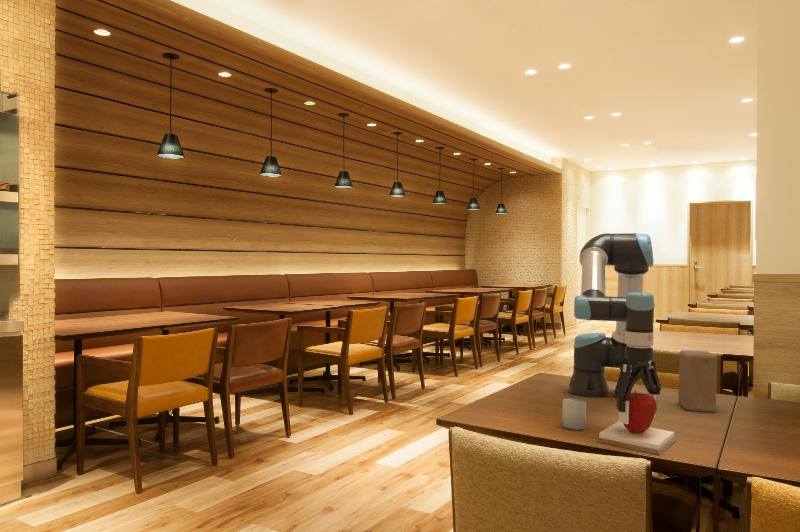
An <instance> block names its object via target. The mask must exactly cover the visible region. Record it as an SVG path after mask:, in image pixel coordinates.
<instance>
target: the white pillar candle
mask: <svg viewBox="0 0 800 532" xmlns="http://www.w3.org/2000/svg"><path fill="white" fill-rule="evenodd" d="M561 419H562V420H561V426H562V427H563V428H564V429H568V430H573V431H574V430H575V431H576V430H577V431H581V430H585V429H586V421H587V401H586V400H584V399H583V400H582V399H579V398H578V399H577V398H563V399H562V416H561Z"/></svg>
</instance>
